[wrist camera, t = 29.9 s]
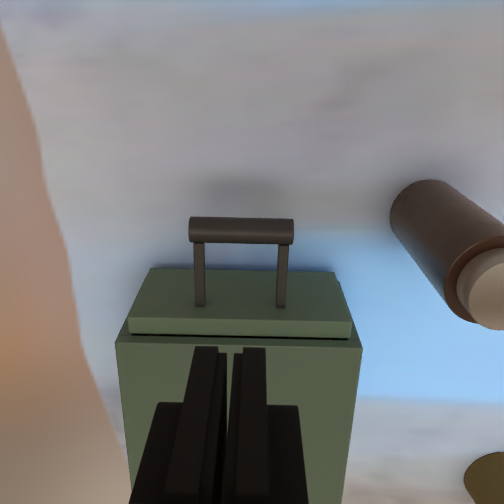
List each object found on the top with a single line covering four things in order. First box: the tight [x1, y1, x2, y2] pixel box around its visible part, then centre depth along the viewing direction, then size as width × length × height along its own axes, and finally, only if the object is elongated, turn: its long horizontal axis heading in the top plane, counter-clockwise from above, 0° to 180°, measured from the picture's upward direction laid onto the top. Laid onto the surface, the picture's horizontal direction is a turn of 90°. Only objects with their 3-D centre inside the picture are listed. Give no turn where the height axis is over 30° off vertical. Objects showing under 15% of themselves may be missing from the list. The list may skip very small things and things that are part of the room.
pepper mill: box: [390, 180, 504, 330], centre depth 28 cm, size 5×5×12 cm
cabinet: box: [115, 278, 363, 504], centre depth 35 cm, size 17×15×9 cm
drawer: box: [127, 217, 352, 340], centre depth 33 cm, size 21×13×7 cm, turn 179°
